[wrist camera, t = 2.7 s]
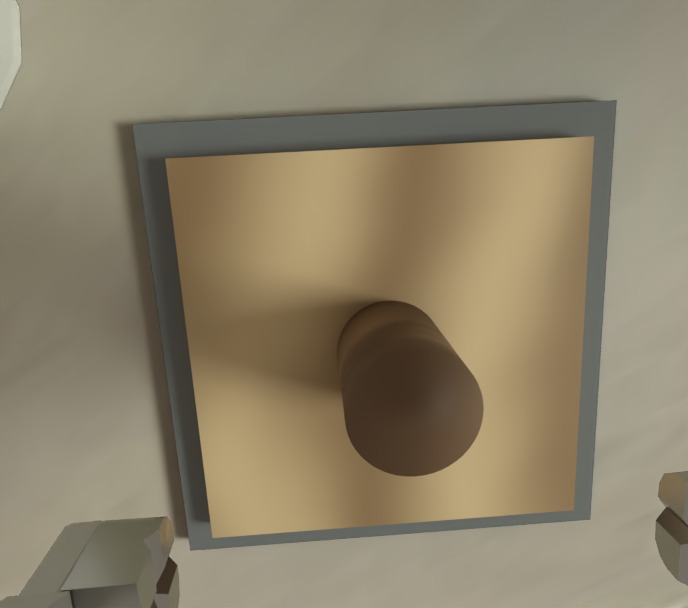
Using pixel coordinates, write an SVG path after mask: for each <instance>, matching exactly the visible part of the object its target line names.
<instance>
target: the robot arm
mask: <svg viewBox="0 0 688 608" xmlns="http://www.w3.org/2000/svg"><path fill="white" fill-rule="evenodd" d="M658 497H659V499H660V500H661V501H662V503H663V504H664V506H665V507H666V508H665V509H664V511H663V512H662V513H661V515H660V516H659V517H658V518H657V520H656V531H655V540H656V543H657V547H658V551H659V554H660V557H661V559H662V560H663V562H664V564H665V566H666V567H667V569H668V570H669V571H670V572H671V574H672V575H673V576H674V577H675V578H676V579H677V580H678V581H680V582H682V583H684V584H686V585H688V471H683V472H675V473H666V474H664V475H663V477H662V479H661V481H660V483H659V492H658ZM173 542H174V538H173V532H172V527H171V522H170V520H169V519H168V517H167V516H166V517H151V518H136V519H122V520H107V521H92V522H82V523H73V524H70V525H68V526H66V527H65V528H64V529H63V531H62V532H61V534H60V535H59V537H58V538H57V540H56V541H55V543H54V544H53V546H52V547H51V548H50V550H49V551H48V553H47V554H46V556H45V557H44V559H43V560H42V562H41V563H40V565H39V566H38V568H37V569H36V571H35V572H34V574H33V575H32V577H31V578H30V580H29V581H28V582H27V584H26V585H25V587H24V588H23V590H22V591H21V593H20V594H19V596H10V597H7V598H5V599H3V600H2V601H0V608H178V605H179V595H180V593H179V574H178V566H177V564H176V563H175V562H174V561H173V560H172V559H171V558H170V557H169V553H170V550H171V548H172V545H173Z"/></svg>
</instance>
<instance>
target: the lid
mask: <svg viewBox="0 0 688 608" xmlns="http://www.w3.org/2000/svg"><path fill="white" fill-rule="evenodd" d="M593 150H594V136H590V137H571V138H552V139H533V140H514V141H494V142H475V143H456V144H437V145H418V146H398V147H379V148H360V149H341V150H322V151H302V152H283V153H264V154H245V155H226V156H206V157H187V158H168V159H165V161H166V169H167V178H168V186H169V194H170V202H171V210H172V218H173V226H174V234H175V242H176V250H177V258H178V266H179V274H180V282H181V290H182V298H183V306H184V314H185V322H186V330H187V338H188V346H189V354H190V362H191V370H192V378H193V386H194V394H195V402H196V410H197V418H198V426H199V434H200V442H201V450H202V458H203V466H204V474H205V482H206V490H207V498H208V506H209V514H210V522H211V530H212V538H220V537H233V536H246V535H259V534H272V533H285V532H298V531H311V530H324V529H337V528H350V527H363V526H376V525H389V524H402V523H415V522H428V521H441V520H454V519H467V518H480V517H493V516H506V515H519V514H532V513H545V512H558V511H571V510H574V498H575V479H576V461H577V443H578V424H579V406H580V388H581V369H582V351H583V333H584V315H585V296H586V278H587V260H588V241H589V223H590V205H591V186H592V168H593Z"/></svg>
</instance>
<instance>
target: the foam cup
mask: <svg viewBox="0 0 688 608" xmlns="http://www.w3.org/2000/svg"><path fill="white" fill-rule="evenodd" d="M20 65H21V39H20V14H19V7H18V5H17V3H16V0H0V108H1V107H2V105H3V103H4V101H5V98H6V96H7V94H8V92H9V89H10V87H11V85H12V83H13V80H14V78H15V76H16V74H17V72H18V69H19V67H20Z"/></svg>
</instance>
